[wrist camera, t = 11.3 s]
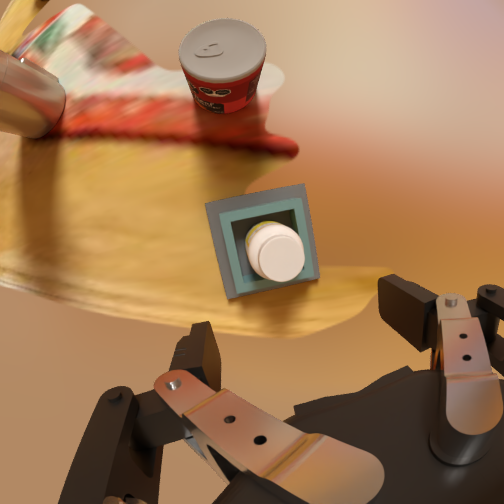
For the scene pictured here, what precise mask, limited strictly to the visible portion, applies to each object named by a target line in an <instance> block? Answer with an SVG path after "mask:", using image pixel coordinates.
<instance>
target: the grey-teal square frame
mask: <svg viewBox="0 0 504 504" xmlns="http://www.w3.org/2000/svg"><path fill="white" fill-rule="evenodd" d="M205 206H206V211H207V215H208V220H209V224H210V229H211V233H212V238H213V242H214V246H215V251H216V255H217V259H218V263H219V267H220V271H221V276H222V280H223V284H224V288H225V292H226V296H227V299H231V298H236V297H240V296H245V295H249V294H254V293H259V292H263V291H267V290H272V289H276V288H281V287H285V286H289V285H293V284H298V283H302V282H306V281H310V280H314V279H318V278H320V273H319V266H318V260H317V253H316V246H315V240H314V234H313V228H312V222H311V216H310V210H309V205H308V200H307V194H306V189H305V184H298V185H292V186H287V187H281V188H276V189H271V190H266V191H260V192H255V193H250V194H245V195H241V196H236V197H231V198H227V199H222V200H218V201H213V202H209V203H205ZM264 220H272V221H275V222H278V223H280V224H282V225H285V226H287V227H289V228H291V229H292V230H293V231H295V232H296V233H297V234H298V236H299V237H300V239H301V241H302V243H303V247H304V255H305V261H304V266H303V268H302V270H301V272H300V273H299V274H298V275H297V276H296V277H295V278H293V279H291V280H289V281H285V282H277V281H273V280H269V279H266V278H263V277H261V276H260V275H259V274H257V273H256V272H255V271H254V269H253V268H252V266H251V264H250V262H249V259H248V256H247V253H246V250H245V237H246V234H247V232H248V230H249V229H250V228H251V227H252V226H253V225H254V224H256V223H258V222H260V221H264Z"/></svg>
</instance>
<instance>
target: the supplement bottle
mask: <svg viewBox="0 0 504 504" xmlns="http://www.w3.org/2000/svg"><path fill="white" fill-rule="evenodd" d="M245 250H246V253H247V256H248V259H249V262H250V264H251V266H252V268H253V269H254V271H255V272H256V273H257V274H259V275H260V276H261V277H263V278H266V279H269V280H273V281H277V282H285V281H289V280H291V279H293V278H295V277H296V276H297V275H298V274H299V273H300V272H301V270H302V268H303V266H304V261H305V255H304V247H303V243H302V241H301V239H300V237H299V236H298V234H297V233H296V232H295V231H293V230H292V229H291V228H289V227H287V226H285V225H282V224H280V223H278V222H275V221H272V220H264V221H260V222H258V223H256V224H254V225H253V226H252V227H251V228H250V229H249V230H248V232H247V234H246V237H245Z"/></svg>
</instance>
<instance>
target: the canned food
mask: <svg viewBox="0 0 504 504" xmlns="http://www.w3.org/2000/svg"><path fill="white" fill-rule="evenodd" d="M265 56H266V42H265V39H264V37H263V35H262V34H261V33H260V31H259V30H258V29H256V28H255V27H254V26H253V25H251V24H249V23H247V22H245V21H241V20H237V19H231V18H221V19H214V20H210V21H206V22H204V23H202V24H199V25H197V26H196V27H195V28H193V29H191V30H190V31H189V32H188V33H187V34H186V35H185V37H184V38H183V40H182V42H181V44H180V47H179V60H180V63H181V66H182V69H183V72H184V74H185V77H186V80H187V82H188V85H189V87H190V90H191V93H192V95H193V98H194V100H195V101H196V103H197V104H198V105H199V106H200V107H201V108H203V109H205V110H207V111H209V112H212V113H218V114H227V113H232V112H235V111H238V110H240V109H242V108H243V107H245V106H246V105H247V104H248V103H249V102H250V101H251V100H252V99H253V97H254V95H255V92H256V89H257V85H258V81H259V78H260V74H261V71H262V67H263V64H264V60H265Z"/></svg>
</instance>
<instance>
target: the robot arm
mask: <svg viewBox="0 0 504 504" xmlns="http://www.w3.org/2000/svg"><path fill="white" fill-rule="evenodd" d="M64 104H65V91H64V89H63V87H62V86H61V85H60V84H59V83H58V78H57V77H56V76H54V75H53V74H51V73H49V72H48V71H46V70H45V69H43V68H41V67H40V66H38V65H36V64H35V63H33V62H32V61H30V60H28V59H27V58H22V59H20V60H18V59H16V58H14V57H12V56H11V55H9V54H7V53H5V52H3V51H1V50H0V131H2V132H7V133H11V134H16V135H20V136H25V137H29V138H34V139H35V138H40V137H42V136H44V135H45V134H47V133H48V132H49V131H50V130H51V129H52V128H53V127H54V126H55V124H56V123H57V121H58V120H59V118H60V116H61V114H62V111H63V108H64ZM378 302H379V313H380V316H381V318H382V319H383V320H384V321H385V322H386V323H387V324H388V325H390V326H391V327H392V328H393V329H394V330H395V331H397V332H398V333H399V334H400V335H401V336H402V337H403V338H405V339H406V340H407V341H408V342H409V343H410V344H411V345H413V346H414V347H415V348H416V349H417V350H418V351H419V352H422V351H425V350H427V349H429V348H432V349H431V356H430V370H420V371H414V372H413V371H412V370H411V369H410V368H409V367H408V366H405V367H403V368H400V369H399V370H396V371H394V372H392V373H389V374H387V375H384V376H382V377H381V378H379V379H378V380H377V381H375V382H373V383H372V384H370V385H369V386H367V387H365V388H364V389H362V390H360V391H358V392H355V393H349V394H343V395H336V396H330V397H323V398H320V399H317V400H313V401H310V402H306V403H302V404H299V405H295V406H294V411H295V415H293V416H291V417H289V418H288V419H286V420H284V421H281V420H279V419H277V418H275V417H273V416H271V415H270V414H268V413H266V412H264V411H263V410H261V409H259V408H257V407H256V406H254V405H252V404H250V403H249V402H247V401H246V400H244V399H242V398H241V397H239V396H237V395H236V394H234V393H232V392H231V391H229V390H227V389H225V388H224V389H221V358H220V353H219V349H218V346H217V343H216V340H215V337H214V334H213V330H212V327H211V324H210V322H209V321H206V322H201V323H195V324H192V328H191V332H190V335H189V336H183V337H182V338H181V340H180V341H179V342H178V343H177V345H176V349H175V352H174V356H173V358H172V362H171V365H170V368H169V372H166V373H164V374H162V375H161V376H159V377H158V378H157V379H156V381H155V383H154V389H153V390H151V391H148V392H145V393H142V394H138V395H134V393H133V391H132V390H131V389H130V388H128V387H126V386H118V387H114V388H112V389H109V390H108V391H106V392H105V393H104V394H102V396H101V397H100V399H99V401H98V403H97V405H96V407H95V409H94V412H93V414H92V416H91V418H90V421H89V423H88V425H87V428H86V430H85V432H84V435H83V437H82V439H81V442H80V444H79V447H78V449H77V452H76V454H75V457H74V459H73V462H72V465H71V467H70V470H69V473H68V476H67V478H66V481H65V484H64V487H63V490H62V492H61V495H60V499H59V502H58V504H158V496H159V483H160V473H161V464H162V454H163V446H164V445H165V444H168V443H171V442H175V441H178V440H181V439H183V440H184V441H185V442H186V443H187V444H188V445H189V446H190V447H191V448H192V449H193V450H194V451H195V452H196V453H197V454H198V455H199V456H200V457H201V458H202V459H203V460H204V461H205V462H206V463H207V464H208V465H209V466H210V467H211V468H212V469H213V470H214V471H215V472H216V473H217V475H218V476H219V477H220V478H221V479H222V480H223V481H224V482H225V483H226V484H227V485H228V486H227V487H226V488H225V489H224V491H223V492H222V493H221V494H220V495H219V496H218V497H217V499H216V500H215V501H214V502H213V503H212V504H504V380H502V379H498V376H497V374H496V373H493V372H492V369H491V366H492V367H493V368H494V369H496V370H497V371H498V372H499V373H500V374H502V376H504V338H502V337H501V336H500V335H498V334H497V330H498V325H499V321H500V319H501V320H503V321H504V289H503V288H501V287H499V286H497V285H490V284H489V285H483V286H481V287H479V288H478V291H477V298H476V299H473V300H469V301H466V299H465V297H463V296H462V295H459V294H455V293H448V294H443V295H441V296H438V295H436V294H435V293H432V292H431V291H429V290H427V289H426V290H425V288H423V287H420V285H418V284H416V283H414V282H409V281H406V280H404V279H402V278H400V277H398V276H396V275H395V274H391V275H388V276H385V277H381V278H379V280H378Z"/></svg>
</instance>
